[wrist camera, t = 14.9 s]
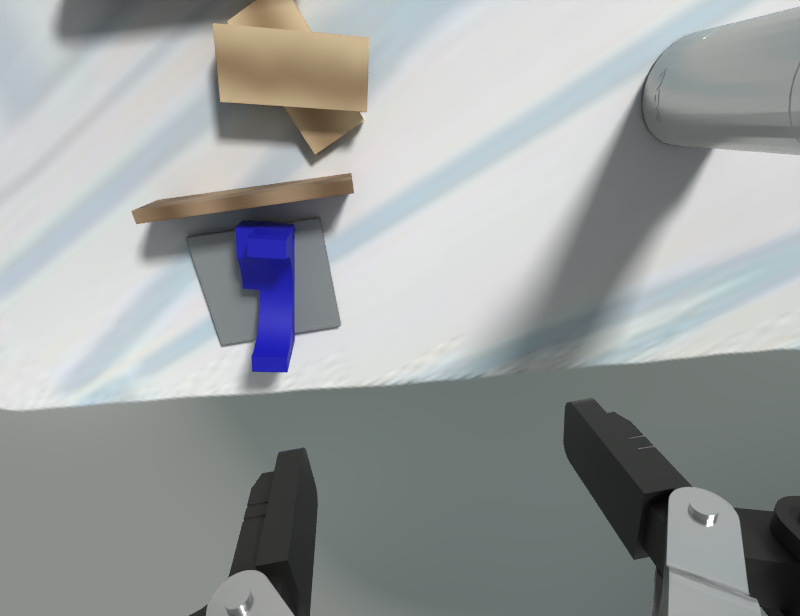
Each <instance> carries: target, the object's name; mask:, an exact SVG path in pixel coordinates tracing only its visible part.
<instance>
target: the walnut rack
mask: <svg viewBox="0 0 800 616" xmlns="http://www.w3.org/2000/svg"><path fill="white" fill-rule="evenodd" d="M351 193H354V190H353V182H352V176H351V173H349V174H342V175H335V176H328V177H320V178H313V179H306V180H299V181H292V182H284V183H277V184H270V185H263V186H256V187H248V188H241V189H234V190H227V191H220V192H212V193H205V194H198V195H191V196H184V197H176V198H169V199H162V200H157V201H154V202H152V203H150V204H147V205H145V206H142V207H140V208H138V209H135V210H133V211H132V214H133V216H134V219H135V222H136V224H140V223H147V222H154V221H161V220H168V219H175V218H182V217H189V216H196V215H203V214H210V213H217V212H225V211H232V210H239V209H246V208H253V207H260V206H267V205H274V204H281V203H288V202H295V201H302V200H309V199H316V198H323V197H330V196H337V195H344V194H351Z"/></svg>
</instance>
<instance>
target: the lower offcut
mask: <svg viewBox="0 0 800 616" xmlns="http://www.w3.org/2000/svg"><path fill="white" fill-rule="evenodd" d="M227 22H228V24H229V25H239V26H250V27H261V28H272V29H283V30H294V31H305V32H312V31H311V30H310V28H309V26H308V24H307V23H306V21H305V19H304V18H303V16H302V14H301V13H300V11H299V9H298V8H297V6H296V4H295V2H294V1H293V0H255V1H254V2H252V3H251V4H250V5H248V6H247V7H246V8H244V9H243V10H242V11H240V12H239V13H238V14H236V15H235V16H234V17H232V18H231V19H230V20H228V21H227ZM283 107H284V108H285V110H286V111H287V113H288V114H289V116H290V117H291V119H292V120H293V122H294V123H295V125H296V126H297V128H298V129H299V131H300V132H301V134H302V135H303V137H304V139H305V140H306V142H307V143H308V145H309V146H310V148H311V149H312V151H313V152H314V154H317V153H318V152H320V151H321V150H323V149H324V148H326V147H327V146H328V145H330V144H331V143H333V142H334V141H336V140H337V139H339V138H340V137H342V136H343V135H345V134H346V133H348V132H349V131H351V130H352V129H353V128H355V127H356V126H358V125H359V124H361V123H362V122H364V119H363V117H362V116H361V114H360V112H358V111H343V110H329V109H314V108H300V107H285V106H283Z"/></svg>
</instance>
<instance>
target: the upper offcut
mask: <svg viewBox="0 0 800 616" xmlns="http://www.w3.org/2000/svg"><path fill="white" fill-rule="evenodd" d="M213 32H214V43H215V53H216V63H217V73H218V84H219V94H220V102H228V103H242V104H257V105H271V106H285V107H300V108H314V109H329V110H343V111H358V112H367V92H368V56H369V37H360V36H349V35H338V34H327V33H316V32H305V31H294V30H283V29H272V28H261V27H250V26H239V25H229V24H218V23H213Z"/></svg>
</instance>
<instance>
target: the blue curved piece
mask: <svg viewBox="0 0 800 616" xmlns="http://www.w3.org/2000/svg"><path fill="white" fill-rule="evenodd" d="M235 232H236V251H237V260H238V263H239V266H240V271H241V277H242V287H243V289H255V290H260V307H259V323H258V331H257V338H256V343H255V348H254V352H253V355H252V372H288V367H289V363H290V359H291V354H292V350H293V345H294V341H295V224H289V223H275V222H260V221H246V220H243V221H242V222H241V223H240V224H239V225H238V226H237V227H236V228H235Z"/></svg>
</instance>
